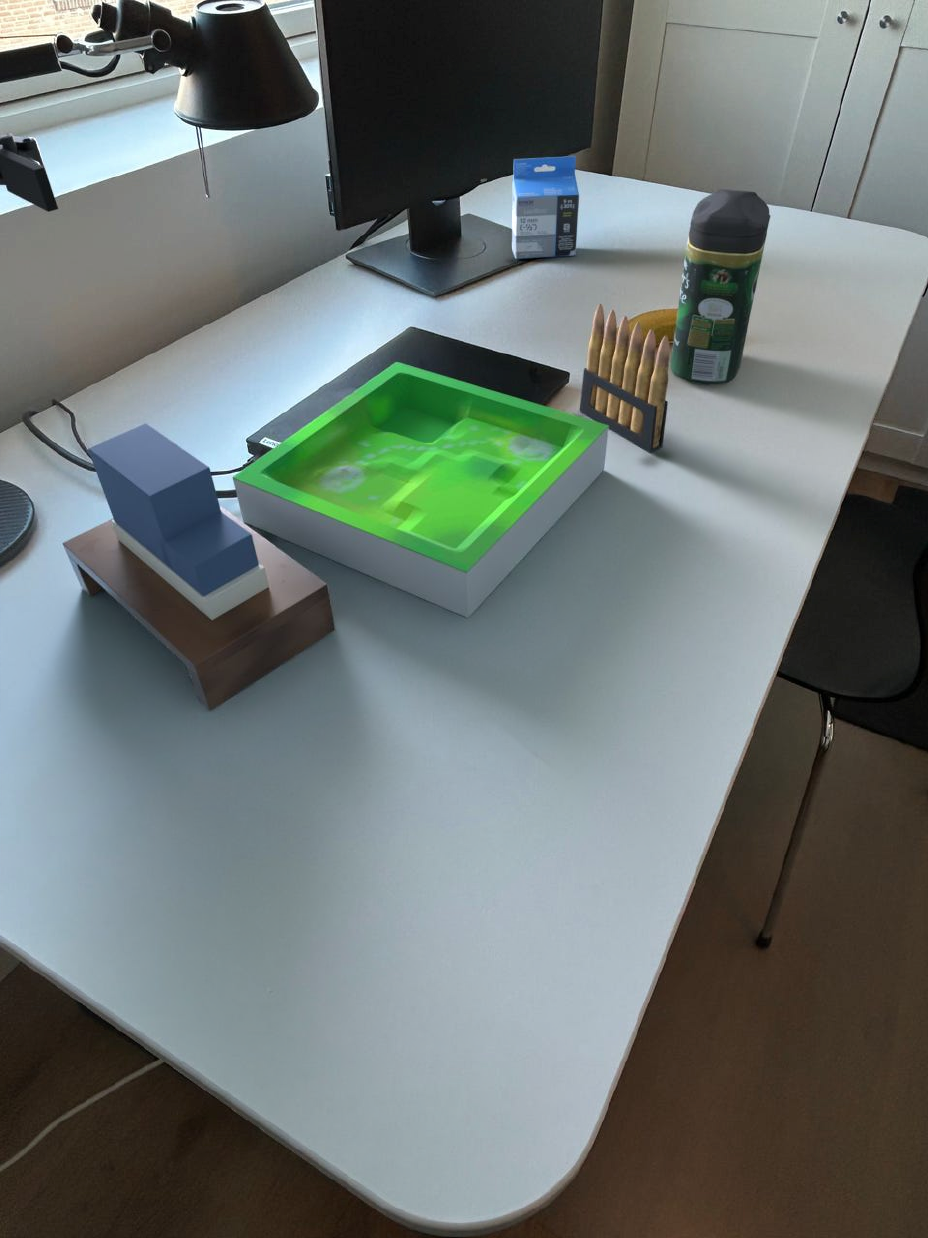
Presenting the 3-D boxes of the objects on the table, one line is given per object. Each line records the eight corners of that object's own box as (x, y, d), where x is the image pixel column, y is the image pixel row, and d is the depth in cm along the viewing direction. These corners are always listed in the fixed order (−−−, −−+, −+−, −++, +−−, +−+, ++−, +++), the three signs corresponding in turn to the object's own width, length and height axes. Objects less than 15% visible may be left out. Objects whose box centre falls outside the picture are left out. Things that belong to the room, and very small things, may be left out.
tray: (468, 618, 72) (466, 571, 69) (243, 521, 82) (232, 477, 79) (604, 469, 87) (608, 425, 84) (399, 403, 97) (396, 361, 94)
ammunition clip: (578, 410, 95) (586, 303, 87) (591, 405, 96) (600, 298, 88) (650, 453, 89) (666, 342, 81) (663, 446, 90) (680, 336, 81)
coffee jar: (675, 344, 106) (700, 179, 93) (742, 352, 104) (778, 185, 91) (662, 382, 99) (687, 211, 86) (734, 392, 97) (771, 218, 84)
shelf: (210, 711, 65) (194, 665, 62) (81, 588, 76) (61, 542, 72) (335, 629, 71) (327, 583, 68) (200, 526, 82) (187, 481, 78)
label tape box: (514, 260, 125) (516, 167, 117) (511, 249, 128) (512, 157, 120) (575, 257, 125) (582, 164, 117) (571, 246, 128) (576, 154, 120)
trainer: (212, 620, 65) (182, 524, 59) (117, 539, 73) (82, 446, 66) (269, 587, 68) (246, 491, 62) (172, 512, 75) (143, 419, 69)
